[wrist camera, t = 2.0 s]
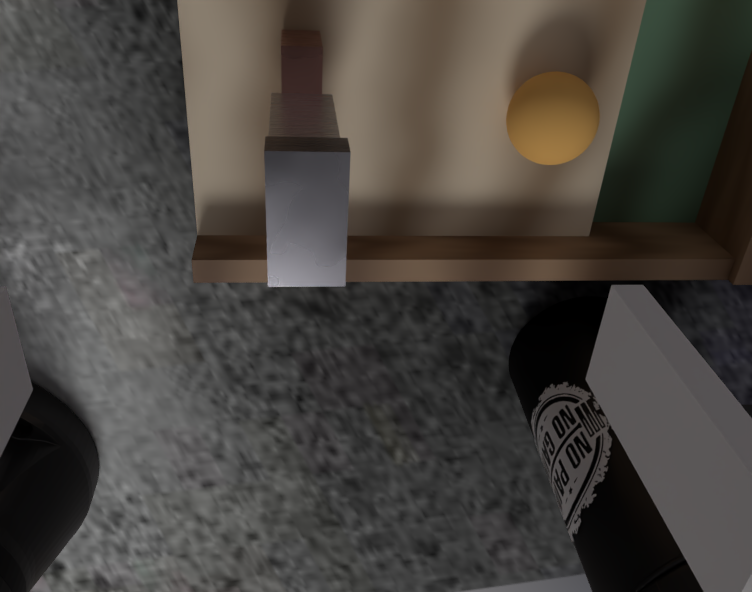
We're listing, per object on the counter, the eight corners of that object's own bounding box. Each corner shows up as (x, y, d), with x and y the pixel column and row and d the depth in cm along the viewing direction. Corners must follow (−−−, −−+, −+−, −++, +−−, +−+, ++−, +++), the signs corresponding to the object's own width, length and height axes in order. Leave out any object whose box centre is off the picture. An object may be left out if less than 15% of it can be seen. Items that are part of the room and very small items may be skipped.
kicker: (274, 165, 32) (268, 308, 22) (271, 29, 29) (263, 122, 19) (326, 165, 33) (344, 307, 22) (329, 31, 30) (351, 124, 19)
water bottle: (523, 274, 40) (746, 670, 20) (682, 294, 42) (1024, 672, 22) (475, 409, 45) (618, 828, 26) (620, 421, 47) (854, 819, 28)
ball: (490, 145, 33) (513, 178, 30) (503, 59, 31) (529, 84, 28) (571, 147, 34) (602, 179, 30) (588, 62, 32) (624, 87, 28)
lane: (203, 238, 36) (192, 288, 32) (174, -118, 28) (154, -113, 24) (705, 239, 40) (754, 284, 36) (814, -78, 31) (895, -68, 27)
